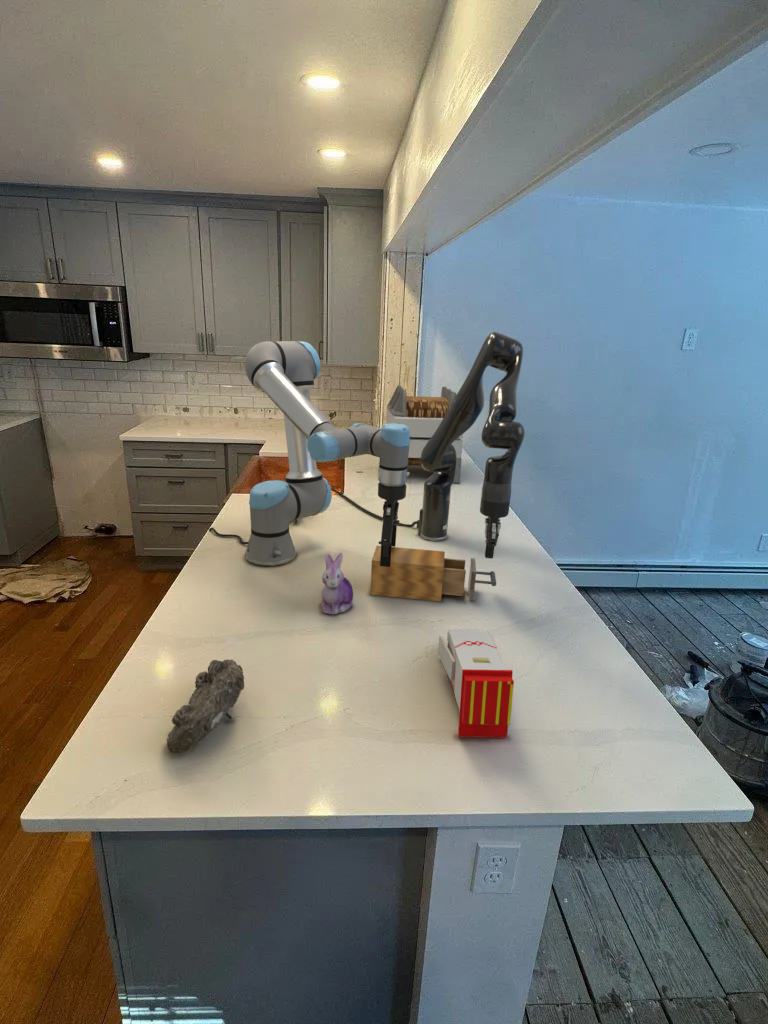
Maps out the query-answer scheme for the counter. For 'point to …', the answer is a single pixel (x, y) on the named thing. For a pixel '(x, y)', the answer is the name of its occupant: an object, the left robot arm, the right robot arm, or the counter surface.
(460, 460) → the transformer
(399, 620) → the counter surface
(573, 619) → the counter surface
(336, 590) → the figurine
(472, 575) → the drawer
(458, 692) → the toy
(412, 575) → the cabinet
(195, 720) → the fossil
